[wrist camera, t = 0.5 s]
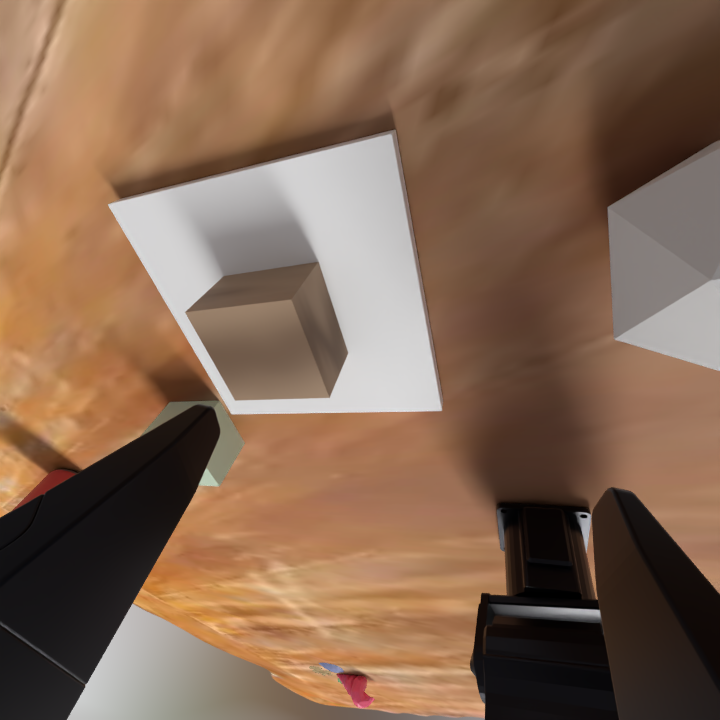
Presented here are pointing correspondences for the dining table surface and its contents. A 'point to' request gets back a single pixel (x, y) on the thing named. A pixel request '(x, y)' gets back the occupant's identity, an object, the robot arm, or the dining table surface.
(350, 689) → the toy pieces
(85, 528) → the robot arm
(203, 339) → the walnut block
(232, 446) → the green block
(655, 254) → the white letter block
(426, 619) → the dining table surface
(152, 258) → the build plate
